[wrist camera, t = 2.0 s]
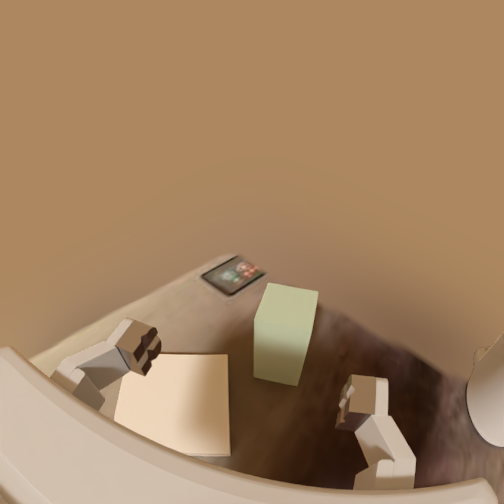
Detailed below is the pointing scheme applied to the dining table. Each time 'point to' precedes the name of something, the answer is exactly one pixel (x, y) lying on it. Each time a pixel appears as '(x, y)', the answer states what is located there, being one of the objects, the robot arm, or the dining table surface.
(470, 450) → the dining table surface
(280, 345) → the green block
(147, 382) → the cream tile
